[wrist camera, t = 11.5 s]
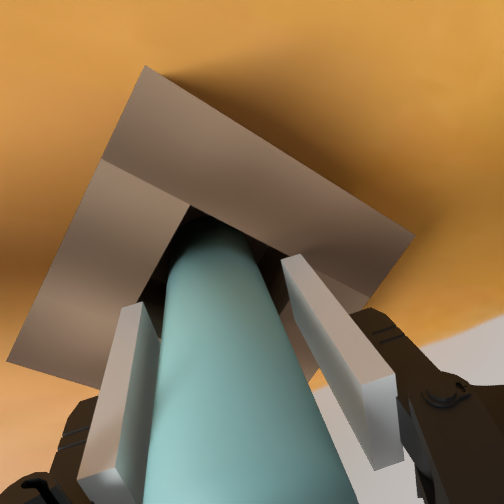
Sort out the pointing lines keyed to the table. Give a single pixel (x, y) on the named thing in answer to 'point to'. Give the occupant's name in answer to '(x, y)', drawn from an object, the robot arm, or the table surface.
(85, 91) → the table surface
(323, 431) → the dowel
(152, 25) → the table surface
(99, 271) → the bore block
